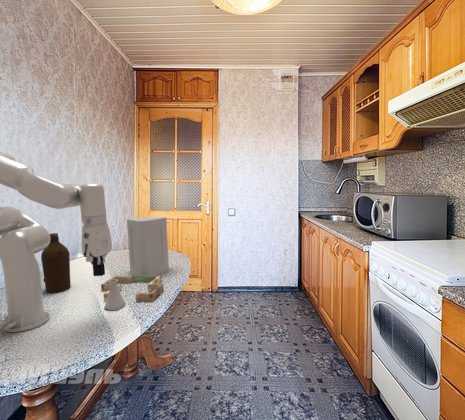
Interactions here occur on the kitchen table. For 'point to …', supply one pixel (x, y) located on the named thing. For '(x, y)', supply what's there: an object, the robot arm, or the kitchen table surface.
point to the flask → (114, 297)
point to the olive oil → (56, 266)
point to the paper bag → (148, 245)
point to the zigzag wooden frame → (152, 286)
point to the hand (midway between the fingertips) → (99, 275)
